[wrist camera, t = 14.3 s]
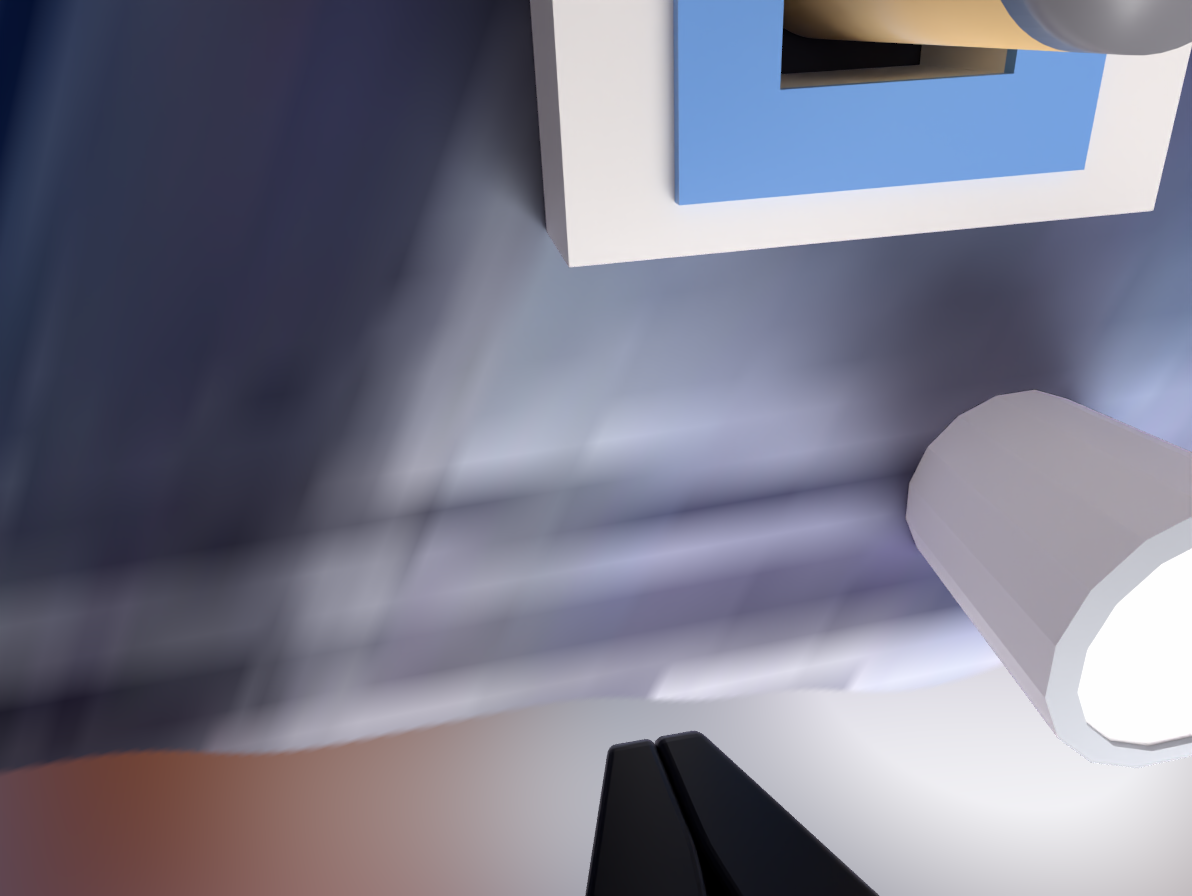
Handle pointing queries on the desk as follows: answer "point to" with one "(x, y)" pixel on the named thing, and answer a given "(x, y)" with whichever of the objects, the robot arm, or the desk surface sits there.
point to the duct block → (822, 134)
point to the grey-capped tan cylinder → (1001, 23)
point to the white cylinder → (1070, 565)
